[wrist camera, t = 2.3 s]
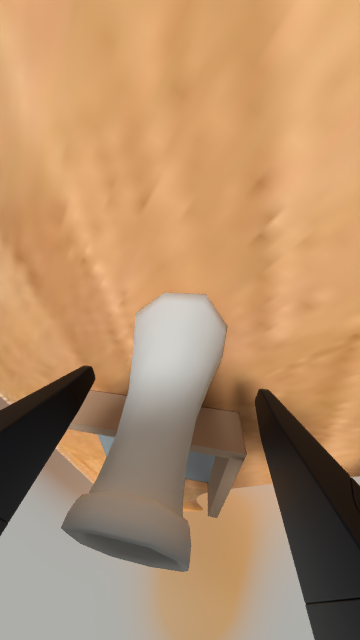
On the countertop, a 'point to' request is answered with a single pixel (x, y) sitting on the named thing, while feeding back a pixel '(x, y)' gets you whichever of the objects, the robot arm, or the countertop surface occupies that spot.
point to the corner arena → (205, 451)
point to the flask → (154, 437)
